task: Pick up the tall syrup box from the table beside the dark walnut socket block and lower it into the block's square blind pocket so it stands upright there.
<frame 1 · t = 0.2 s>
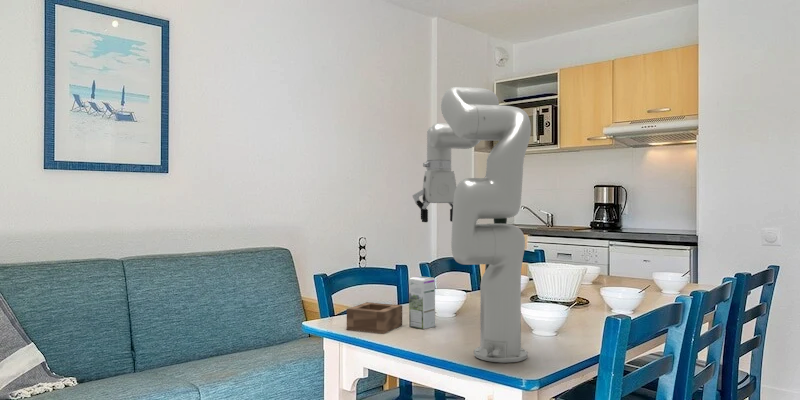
hand: (439, 221, 185), 30 cm above the table, tool pointing down, fingers open, 9 cm apart
socket block: (374, 327, 174), on the table
beer bottle: (500, 311, 199), on the table
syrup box: (422, 327, 175), on the table
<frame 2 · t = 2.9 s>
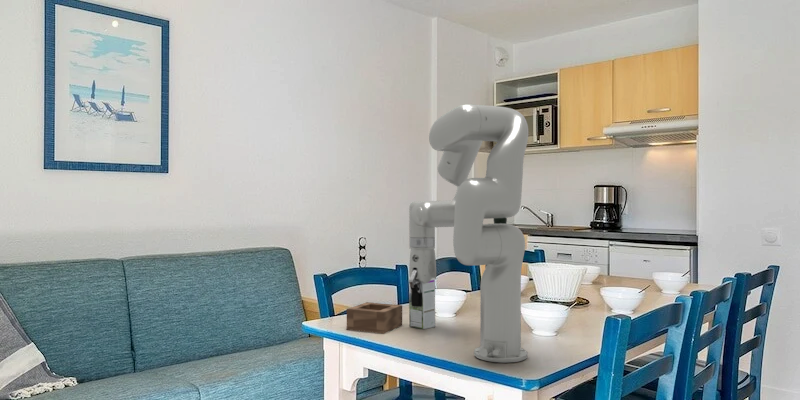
hand: (422, 303, 175), 7 cm above the table, tool pointing down, fingers closed on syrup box, 7 cm apart
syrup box: (422, 327, 175), on the table, touching gripper
everything else where it was.
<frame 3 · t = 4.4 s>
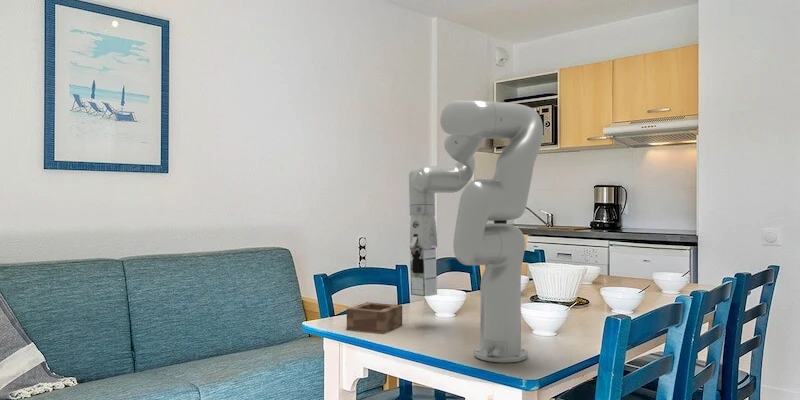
hand: (423, 271, 174), 16 cm above the table, tool pointing down, fingers closed on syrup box, 7 cm apart
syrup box: (423, 295, 174), point 9 cm above the table, touching gripper
everything else where it was.
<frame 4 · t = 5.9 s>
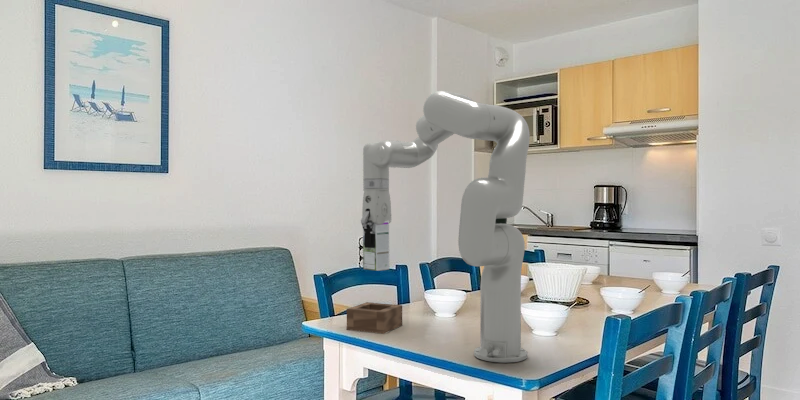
hand: (376, 246, 174), 24 cm above the table, tool pointing down, fingers closed on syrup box, 7 cm apart
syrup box: (376, 270, 174), point 17 cm above the table, touching gripper
everything else where it was.
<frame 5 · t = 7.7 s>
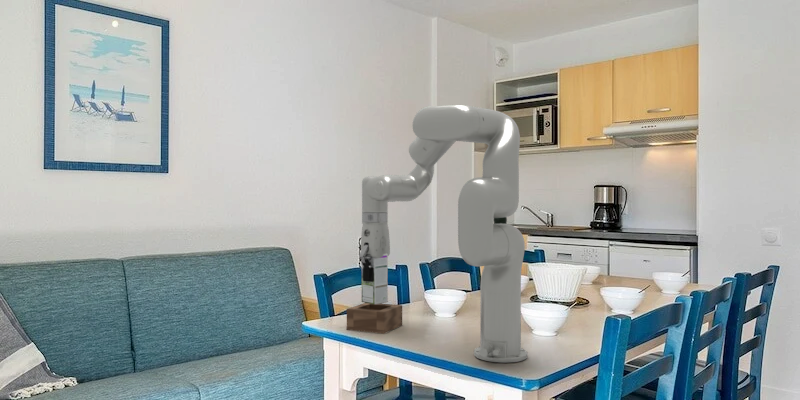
hand: (374, 279, 174), 14 cm above the table, tool pointing down, fingers closed on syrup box, 7 cm apart
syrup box: (374, 303, 174), point 7 cm above the table, touching gripper
everything else where it was.
when the fingers open (9 cm above the table, at t = 9.2 s): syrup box drops 1 cm, resting on socket block.
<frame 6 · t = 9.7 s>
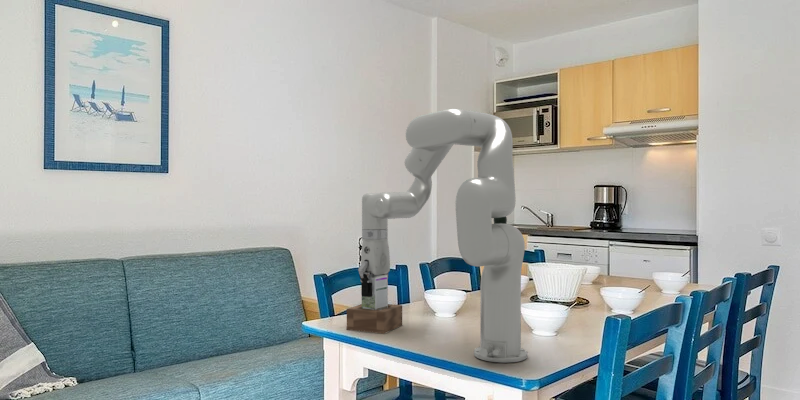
hand: (374, 294, 174), 10 cm above the table, tool pointing down, fingers open, 9 cm apart
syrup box: (374, 325, 174), point 1 cm above the table, touching socket block
everything else where it was.
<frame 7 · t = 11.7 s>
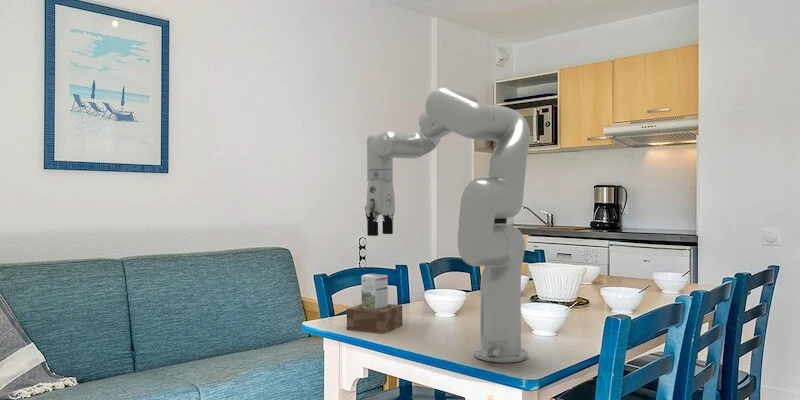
hand: (380, 234, 175), 27 cm above the table, tool pointing down, fingers open, 9 cm apart
nothing on the table moved.
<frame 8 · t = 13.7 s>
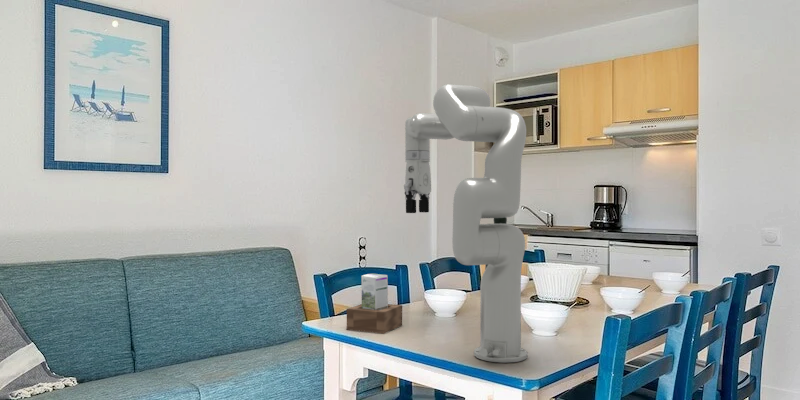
hand: (417, 212, 184), 33 cm above the table, tool pointing down, fingers open, 9 cm apart
nothing on the table moved.
at the end: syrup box 0.3 cm off-centre on the socket block, point 0.8 cm above the socket block's base; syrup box tilted 0°; the gripper is holding nothing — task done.
